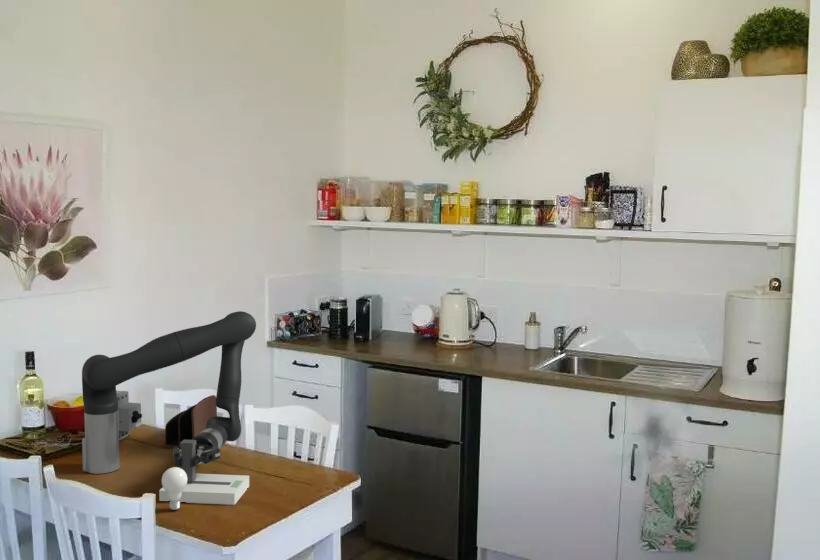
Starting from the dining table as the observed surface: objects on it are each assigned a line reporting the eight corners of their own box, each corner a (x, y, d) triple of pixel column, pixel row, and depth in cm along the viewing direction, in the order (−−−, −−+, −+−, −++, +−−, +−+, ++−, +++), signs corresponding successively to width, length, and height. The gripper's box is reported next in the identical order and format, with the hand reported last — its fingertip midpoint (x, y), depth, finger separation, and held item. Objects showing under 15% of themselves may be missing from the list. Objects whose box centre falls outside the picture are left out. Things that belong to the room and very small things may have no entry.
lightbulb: (164, 505, 211) (164, 463, 210) (189, 504, 212) (189, 463, 211) (159, 514, 205) (158, 472, 204) (185, 514, 206) (184, 471, 205)
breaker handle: (180, 482, 219) (180, 442, 218) (184, 478, 222) (184, 439, 221) (193, 482, 219) (192, 443, 218) (196, 479, 222) (196, 440, 221)
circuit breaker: (134, 443, 264) (133, 397, 263) (94, 440, 267) (93, 394, 266) (146, 436, 271) (145, 392, 270) (107, 433, 274) (106, 389, 273)
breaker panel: (159, 501, 214) (159, 490, 214) (178, 483, 228) (178, 472, 228) (234, 504, 213) (234, 493, 212) (249, 486, 226) (249, 475, 226)
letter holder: (217, 432, 278) (217, 392, 277) (194, 450, 258) (194, 406, 257) (189, 431, 279) (189, 390, 278) (164, 448, 260) (163, 405, 258)
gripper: (181, 430, 234) (158, 449, 217) (229, 432, 233) (210, 451, 216) (182, 456, 235) (159, 476, 218) (230, 458, 234) (210, 478, 217)
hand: (184, 463), depth 217 cm, fingers closed on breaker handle, 3 cm apart
